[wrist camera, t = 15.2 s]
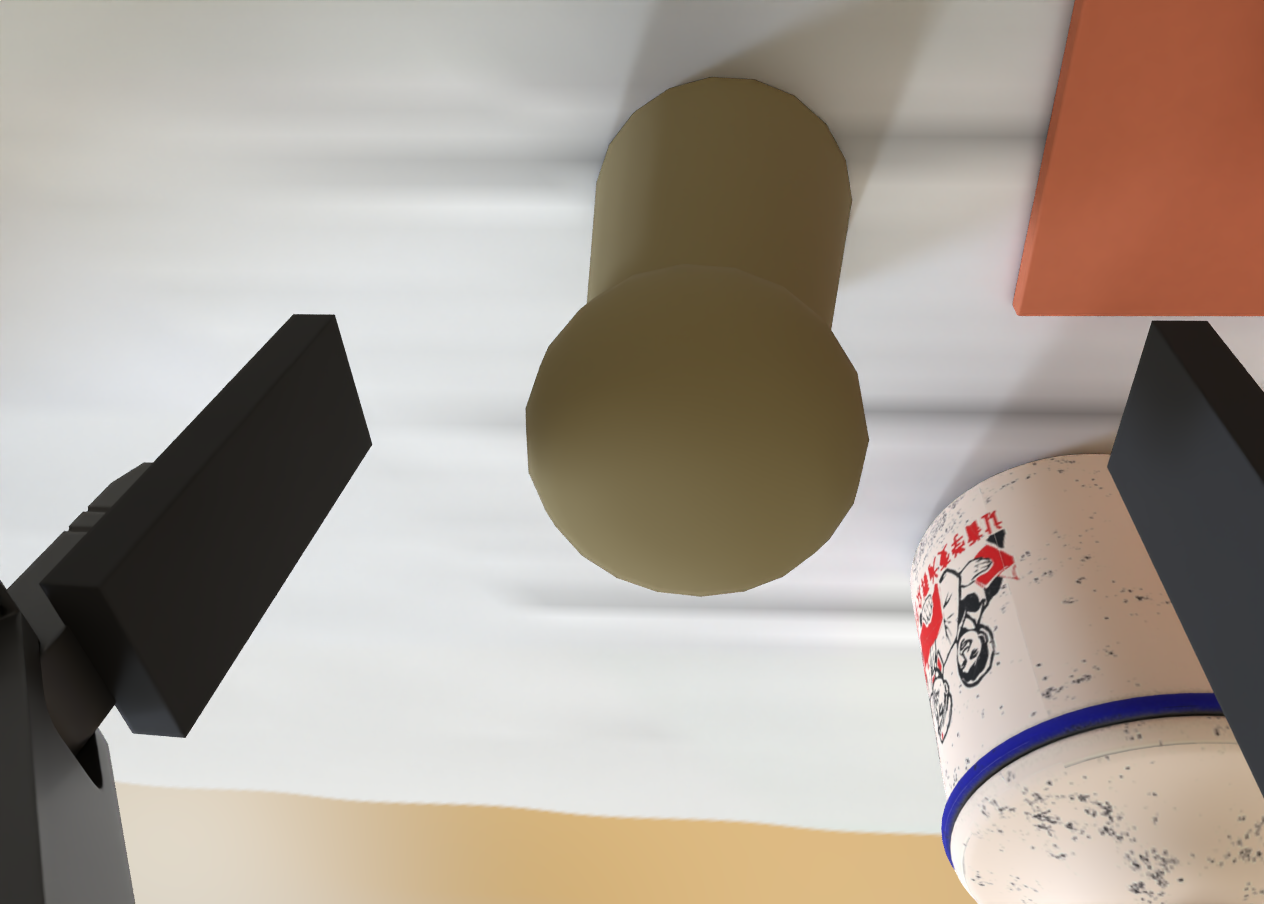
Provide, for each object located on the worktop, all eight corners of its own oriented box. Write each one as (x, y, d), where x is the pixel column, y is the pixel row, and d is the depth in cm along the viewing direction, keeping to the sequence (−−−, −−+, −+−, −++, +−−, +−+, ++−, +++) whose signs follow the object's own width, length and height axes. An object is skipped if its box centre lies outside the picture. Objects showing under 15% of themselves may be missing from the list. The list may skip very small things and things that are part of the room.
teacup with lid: (911, 440, 24) (997, 843, 15) (1281, 436, 23) (1630, 881, 14) (885, 718, 31) (933, 1111, 22) (1167, 729, 30) (1344, 1154, 21)
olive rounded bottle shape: (800, 27, 19) (825, 239, 10) (884, 275, 22) (961, 606, 13) (550, 143, 21) (389, 403, 12) (658, 354, 24) (591, 686, 15)
